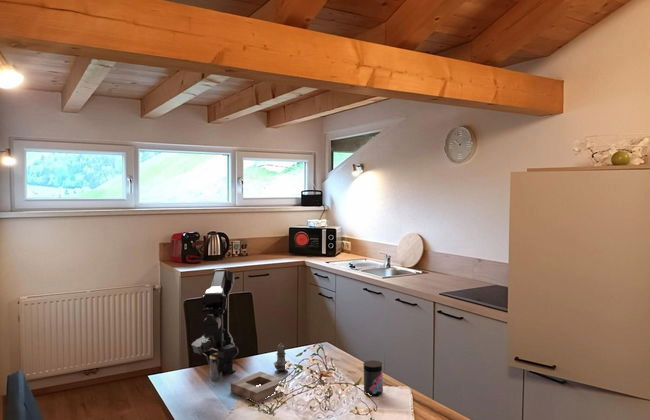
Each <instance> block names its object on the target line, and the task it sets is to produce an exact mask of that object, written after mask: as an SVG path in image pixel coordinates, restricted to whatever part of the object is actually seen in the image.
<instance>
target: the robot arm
mask: <svg viewBox="0 0 650 420" xmlns="http://www.w3.org/2000/svg"><path fill="white" fill-rule="evenodd" d="M234 284H235V274H234V272H232V271H230V270H228V268H227V269H226V268H216V269H214V270H213V272H212V273H211V285H210V287H209V288H207V289H206V290H205V291H204V295H203V296H202V299H201V310H200V314H201V315H205V318H204V320H203V321H202V323H201V328H200V329H201V332H202V333H203V335H202V336H201V337H199V338H197V339H195V340H193V342H192V343H191V347H192V349H193V350H192V351H193V353H195V354H198V355H204V356H205V358H206V361H207V363H208V364H207V365H208V367H209V368H210V354H212V353H217V354H216V355H213V356H214V357H215V358H216V360H217V369H218V373H221V371H222V377H224V376H227V375H229V374H232V373H234V372H236V371H237V370H236V369H235V368H234V367H233V365H234V362H233V359H234V358H236V357H237V356H238V354H239V347H237V346H236V345H235V342H234V338H233V336H232V334H231V333H230V330H229V327H230V326H229V325H230V324H229V322H230V319H229V318H230V312H229V311H230V310H229V308H230V306H229V304H230V294H231V292H232V290H233V288H234Z"/></svg>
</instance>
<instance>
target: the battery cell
mask: <svg viewBox="0 0 650 420" xmlns="http://www.w3.org/2000/svg"><path fill="white" fill-rule="evenodd" d="M216 354H217V353H212V354H210V367H209V380H210V382H212V383H217V382H221V381H222V380H223V376H222V371H221V373H218V369H217V360H216V358H215V357H214V356H213V355H216Z"/></svg>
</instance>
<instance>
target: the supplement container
mask: <svg viewBox="0 0 650 420" xmlns="http://www.w3.org/2000/svg"><path fill="white" fill-rule="evenodd" d="M383 366H384V365H383V362H381V361H379V360H374V359H373V360H367V361H364V362H363V392H366V393H369V394H370V395H372V396H371V397H379V396H381V395H382V394H383V392H384V384H383V383H384V381H383V379H384V378H383V377H384V375H383V374H384V373H383V369H384V368H383Z"/></svg>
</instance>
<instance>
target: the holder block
mask: <svg viewBox="0 0 650 420" xmlns="http://www.w3.org/2000/svg"><path fill="white" fill-rule="evenodd" d="M282 379H283V378H281V377H278V376H275V375H273V374H269V373H267V372H263V371H258V372H255V373H252V374H250V375H248V376H245V377H242V378H240V379H237V380H234V381H232V382H230V393H232V394H233V395H236V396H239V397H241V398H243V397H244V398H243V399H246V398H249V399H251V400H253V401H255V402H259V401H261V400H263V399H265V398H267V397H268V396H271V395H272V394H274V392H275V388H276V387H277V386H278V384H279V382H280V381H281V380H282ZM259 384H261V386H259V387H256V385H259ZM267 399H268V398H267ZM251 400H250V401H251ZM265 400H266V399H265ZM253 401H252V402H253ZM263 401H264V400H263ZM255 402H254V403H255ZM261 402H262V401H261ZM259 403H260V402H259Z"/></svg>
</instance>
